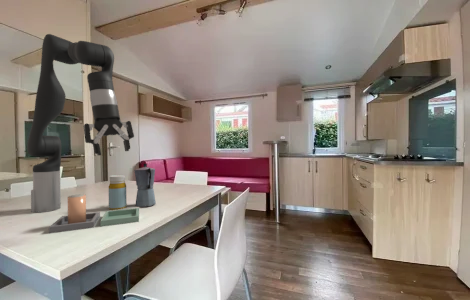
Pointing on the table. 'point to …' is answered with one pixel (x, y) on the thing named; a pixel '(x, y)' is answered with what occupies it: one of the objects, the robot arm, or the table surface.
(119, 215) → the tray
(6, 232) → the table surface
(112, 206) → the bottle
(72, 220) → the orange cylinder
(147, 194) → the moka pot
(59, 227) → the tray
